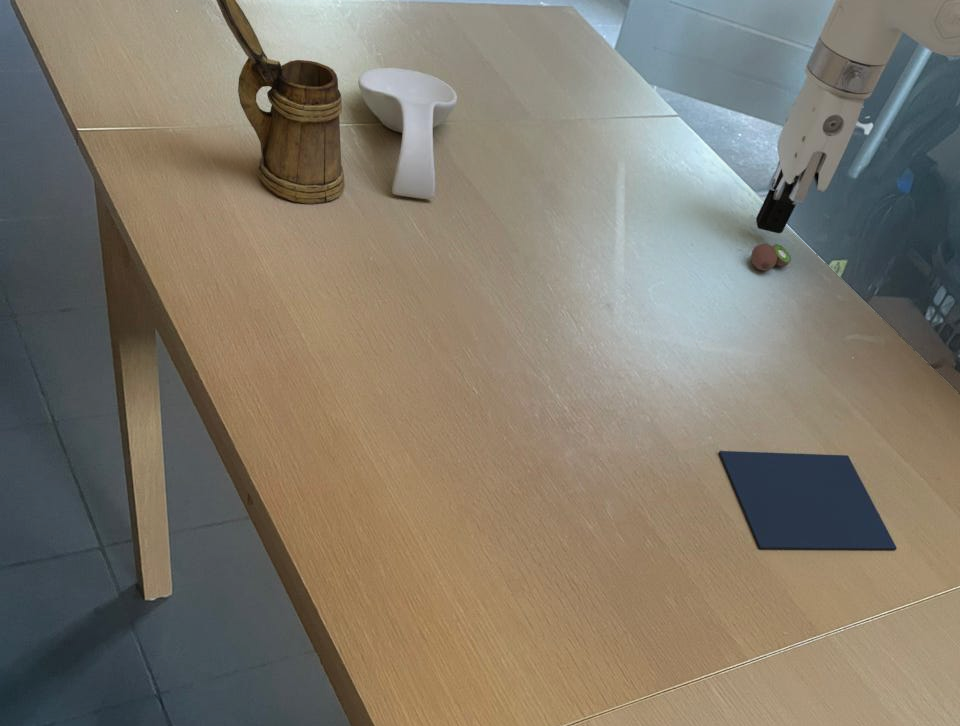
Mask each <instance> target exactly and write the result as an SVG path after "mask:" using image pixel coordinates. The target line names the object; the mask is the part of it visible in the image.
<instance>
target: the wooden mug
mask: <svg viewBox="0 0 960 726" xmlns="http://www.w3.org/2000/svg"><path fill="white" fill-rule="evenodd" d="M215 1H216V3H217V5H218V8H219V10H220V12H221V15H222V17H223V20H224V21H225V23H226V25H227V26H228V28H229V30H230V32H231V33H232V35H233V36H234V38H235V39H236V41H237V42H238V44H239V47H241V49H242V51H243V53H244V54H245V55H246V56H247V59H246V61H245V63H244V64H243V66H242V68H241V71H240V74H239V76H238V85H237V93H238V99H239V103H240V106H241V108H242V110H243V112H244V115H245V117H246V118H247V120H248V122H249V123H250V125H251V127H252V129H253V130H254V132H255V134H256V136H257V138H258V140H259V144H260V154H261V157H260V159H259V163H258V168H257V175H258V177H259V179H260V180H261V182H262V183H263V185H264V186H265V187H266V189H268V191H270V192H271V193H272V194H273V195H275V196H277V197H279V198H281V199H284V200H288V201H290V202H294V203H298V204H304V205H306V204H307V205H314V204H323V203H327V202H330V201H333V200H334V199H337V198H339V197H341V195H342V194H343V193H344V190H345V186H346V185H345V172H344V167H343V166H342V150H341V149H342V148H341V147H342V146H341V127H340V126H341V125H340V123H341V122H340V115H341V113H342V110H343V103H342V94H341V91H340V90H339V80H338V75H337V73H336V71H335V70H334V69H333V68H331V67H330V66H328V65H325V64H323V63H320V62H317V61H312V60H305V59H304V60H303V59H295V60H289V61H288V62H286V63H284V64H282V65H281V62H280V61H279V60H275V59H270V58H268V56H267V55H266V52H265V51H264V49H263V47H262V45H261V43H260V41H259V38H258V35H257V34H256V32H255V30H254V28H253V26H252V24H251V23H250V21H249V19H248V18H247V16H246V14H245V12H244V11H243V9H242V8H241V6H240V5H239V3H238V2H237V0H215ZM263 87H265V88H266V87H269V88H270V89H269V90H268V91H267V93H266V96H267V100H268V102H269V103H270V105H271V107H270V111H265V110H263V109H261V107H260V106H259V104H258V102H257V94H258V93H259V91H260V90H261V89H262V88H263Z"/></svg>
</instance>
